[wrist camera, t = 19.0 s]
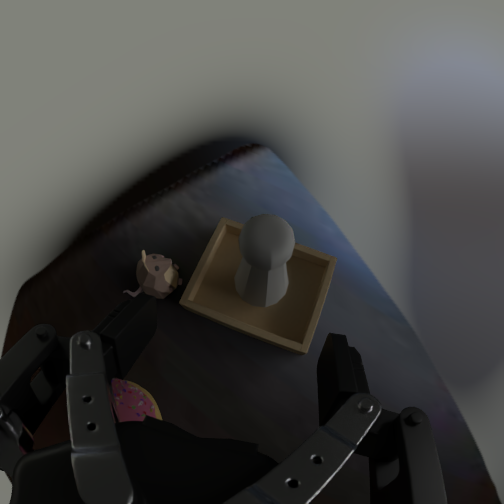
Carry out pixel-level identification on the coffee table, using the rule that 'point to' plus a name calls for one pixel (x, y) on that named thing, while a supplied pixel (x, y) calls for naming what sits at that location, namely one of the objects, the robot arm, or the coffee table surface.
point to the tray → (251, 317)
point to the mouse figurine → (156, 276)
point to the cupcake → (133, 401)
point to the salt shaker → (264, 260)
